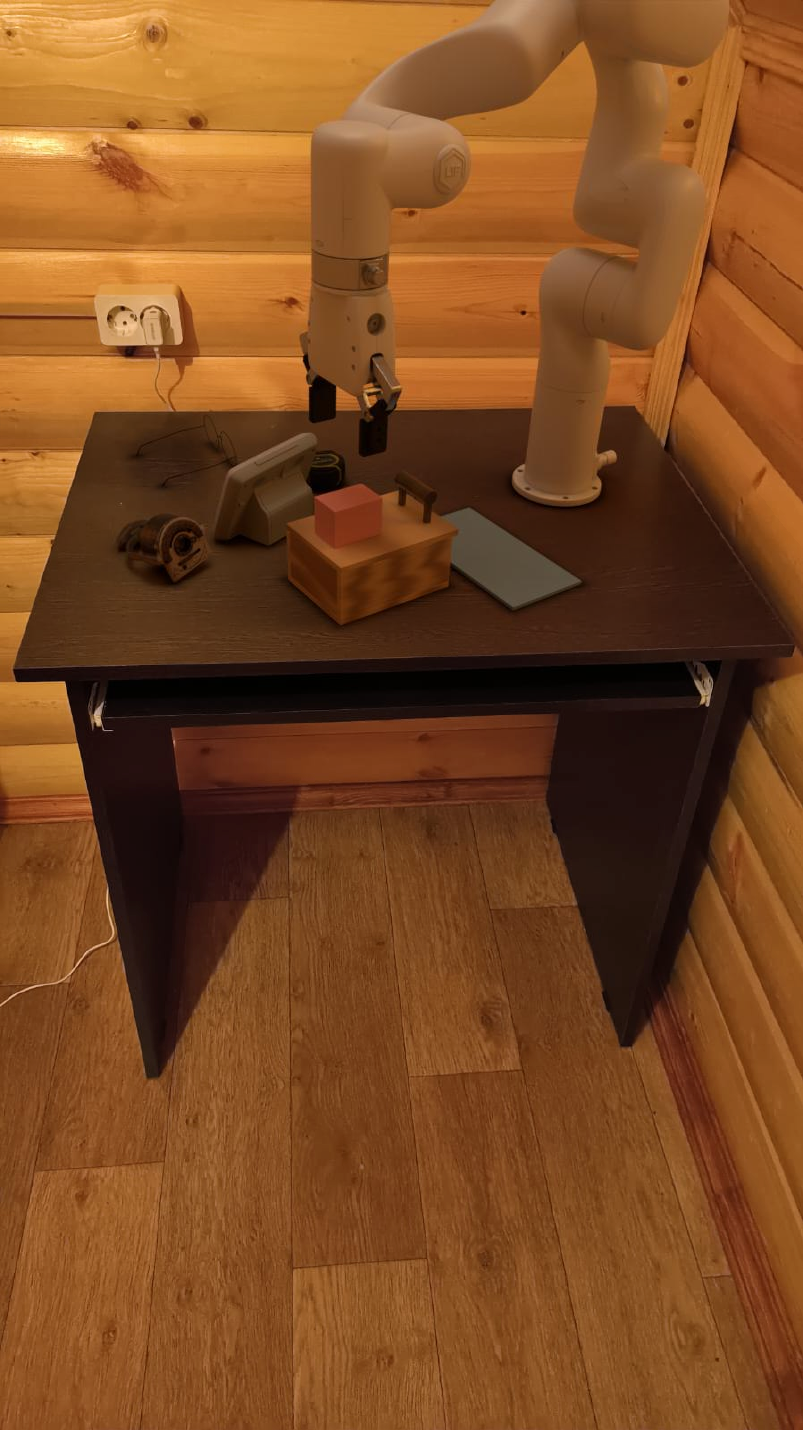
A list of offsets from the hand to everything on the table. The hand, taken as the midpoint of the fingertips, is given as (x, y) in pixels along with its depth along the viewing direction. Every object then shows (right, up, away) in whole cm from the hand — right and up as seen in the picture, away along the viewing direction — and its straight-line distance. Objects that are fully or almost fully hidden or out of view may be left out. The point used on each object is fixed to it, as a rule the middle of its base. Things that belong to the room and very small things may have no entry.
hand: (346, 436), depth 110 cm
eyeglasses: (-25, +6, +36) cm, 44 cm away
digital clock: (-12, -5, +24) cm, 27 cm away
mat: (+17, -10, +20) cm, 28 cm away
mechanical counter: (-23, -11, +16) cm, 30 cm away
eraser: (0, -9, +7) cm, 12 cm away
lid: (+3, -9, +9) cm, 13 cm away
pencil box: (+2, -14, +14) cm, 20 cm away
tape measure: (-6, +3, +34) cm, 35 cm away
